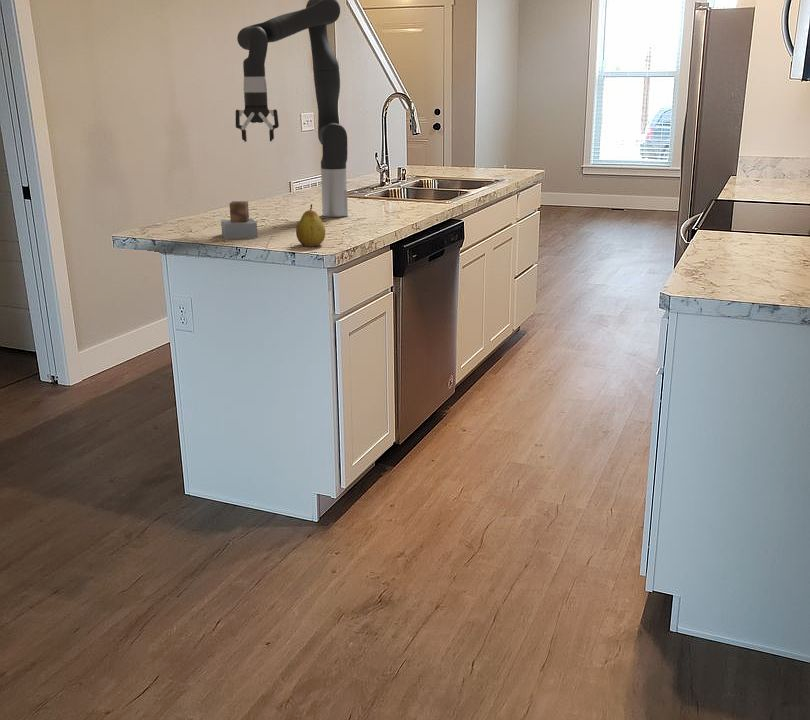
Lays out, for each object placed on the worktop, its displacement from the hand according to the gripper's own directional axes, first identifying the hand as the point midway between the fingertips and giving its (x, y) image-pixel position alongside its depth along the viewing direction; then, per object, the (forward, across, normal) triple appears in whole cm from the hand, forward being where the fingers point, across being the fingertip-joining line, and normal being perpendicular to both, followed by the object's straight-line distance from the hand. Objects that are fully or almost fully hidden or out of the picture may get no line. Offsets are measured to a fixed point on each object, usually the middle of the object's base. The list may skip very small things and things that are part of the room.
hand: (258, 141), depth 284 cm
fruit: (+28, -16, +43) cm, 54 cm away
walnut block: (+24, +6, +22) cm, 33 cm away
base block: (+28, +7, +23) cm, 37 cm away
